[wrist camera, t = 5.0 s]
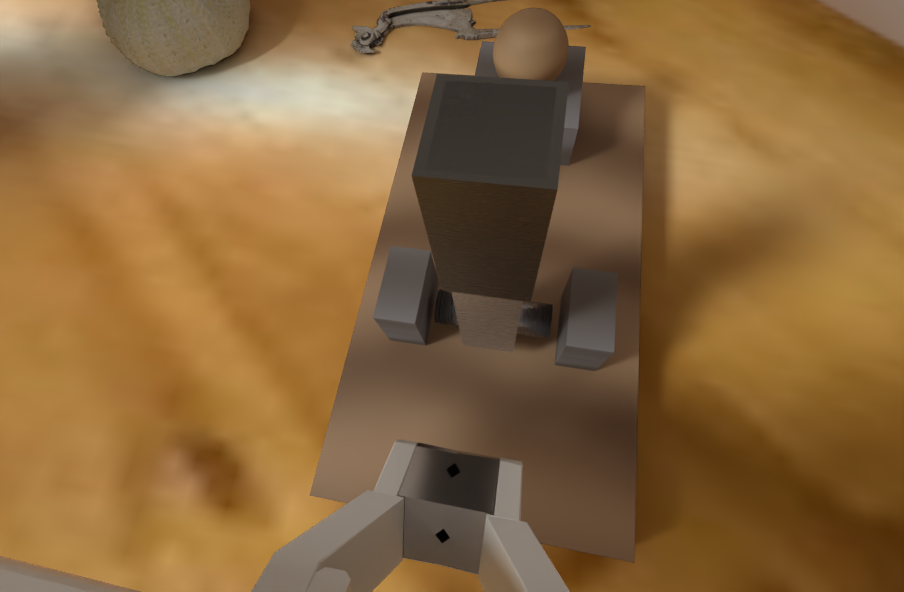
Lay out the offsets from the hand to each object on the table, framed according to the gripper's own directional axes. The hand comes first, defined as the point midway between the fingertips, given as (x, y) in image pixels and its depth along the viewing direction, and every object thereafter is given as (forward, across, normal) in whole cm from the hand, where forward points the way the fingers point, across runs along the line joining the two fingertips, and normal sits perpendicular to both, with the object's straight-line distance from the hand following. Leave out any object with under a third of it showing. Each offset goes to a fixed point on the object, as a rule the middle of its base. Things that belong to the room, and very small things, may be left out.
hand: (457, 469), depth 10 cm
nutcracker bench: (+13, 0, 0) cm, 13 cm away
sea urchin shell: (+24, +23, -11) cm, 35 cm away
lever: (+8, 0, 0) cm, 8 cm away
